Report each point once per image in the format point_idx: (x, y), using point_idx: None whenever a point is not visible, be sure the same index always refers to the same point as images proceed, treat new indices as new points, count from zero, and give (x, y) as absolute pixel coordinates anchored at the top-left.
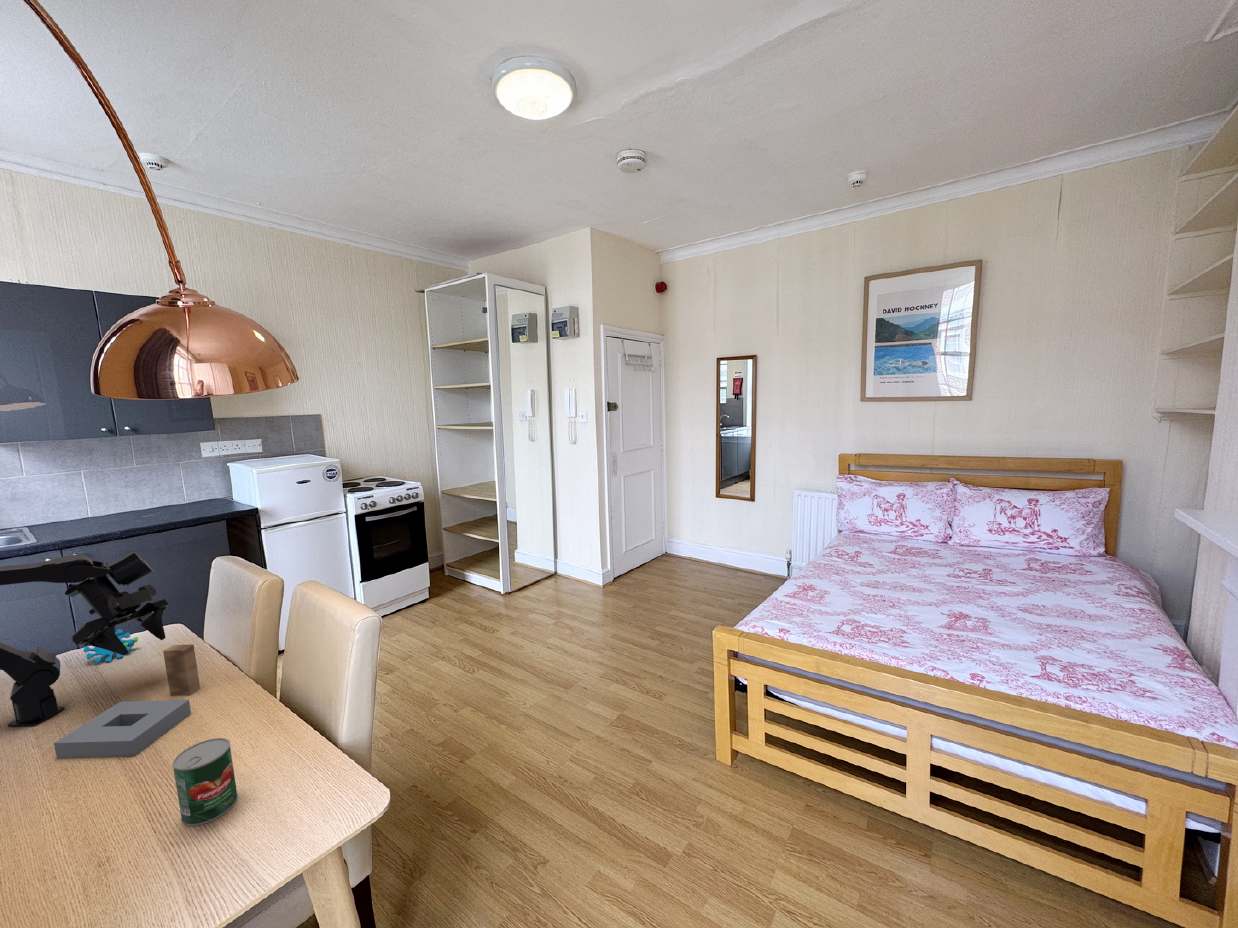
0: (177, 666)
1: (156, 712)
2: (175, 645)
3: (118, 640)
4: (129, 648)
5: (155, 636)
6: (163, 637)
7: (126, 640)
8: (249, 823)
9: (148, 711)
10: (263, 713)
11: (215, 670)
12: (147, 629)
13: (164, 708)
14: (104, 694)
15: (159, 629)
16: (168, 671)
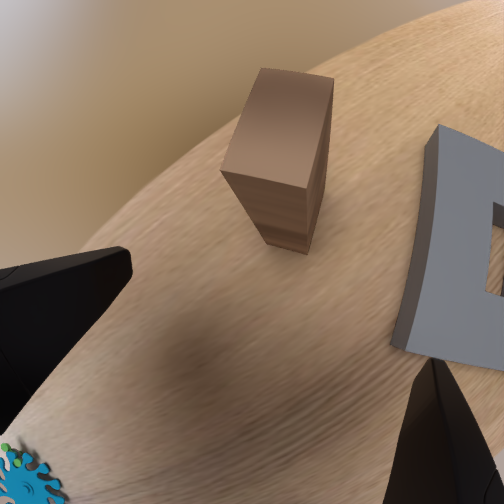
0: (322, 167)
1: (489, 183)
2: (235, 153)
3: (476, 480)
4: (26, 455)
5: (97, 319)
6: (124, 255)
7: (10, 462)
8: None
9: (485, 208)
10: (426, 34)
11: (175, 191)
12: (35, 384)
13: (474, 170)
14: (217, 465)
15: (61, 277)
16: (309, 221)
